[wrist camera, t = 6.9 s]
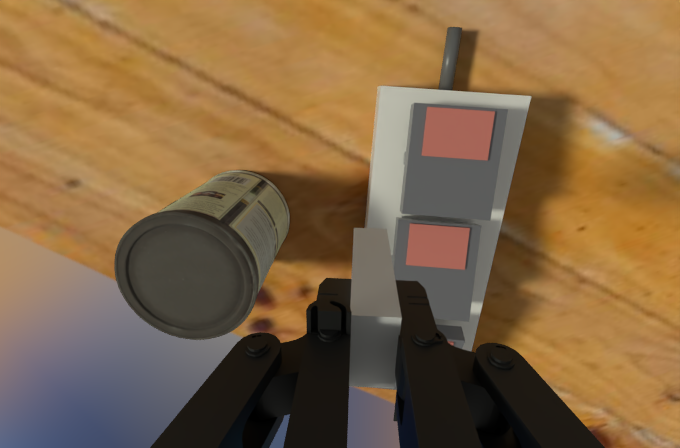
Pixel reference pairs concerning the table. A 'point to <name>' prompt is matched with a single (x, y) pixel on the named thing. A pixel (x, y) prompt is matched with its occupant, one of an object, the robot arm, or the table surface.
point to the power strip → (391, 163)
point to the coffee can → (203, 256)
